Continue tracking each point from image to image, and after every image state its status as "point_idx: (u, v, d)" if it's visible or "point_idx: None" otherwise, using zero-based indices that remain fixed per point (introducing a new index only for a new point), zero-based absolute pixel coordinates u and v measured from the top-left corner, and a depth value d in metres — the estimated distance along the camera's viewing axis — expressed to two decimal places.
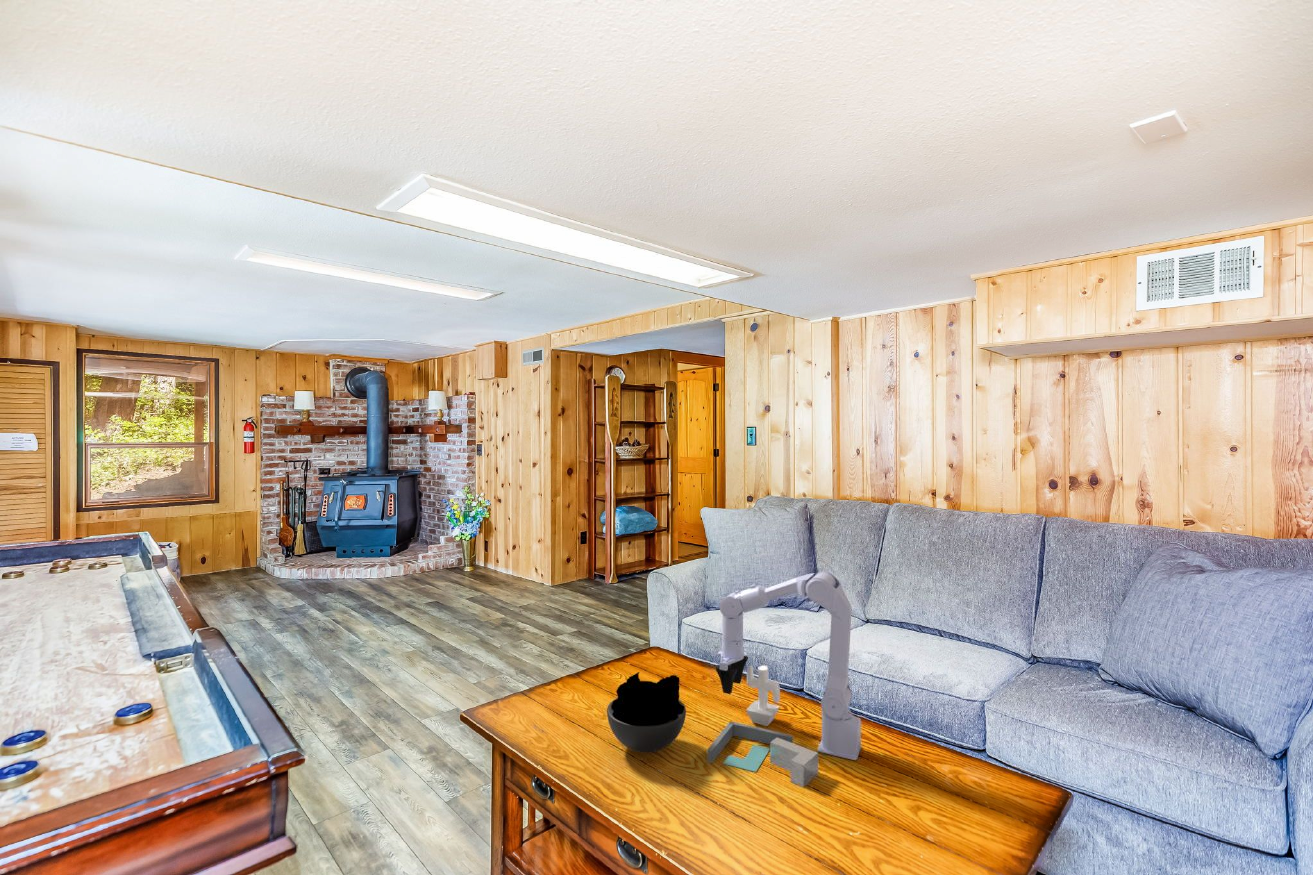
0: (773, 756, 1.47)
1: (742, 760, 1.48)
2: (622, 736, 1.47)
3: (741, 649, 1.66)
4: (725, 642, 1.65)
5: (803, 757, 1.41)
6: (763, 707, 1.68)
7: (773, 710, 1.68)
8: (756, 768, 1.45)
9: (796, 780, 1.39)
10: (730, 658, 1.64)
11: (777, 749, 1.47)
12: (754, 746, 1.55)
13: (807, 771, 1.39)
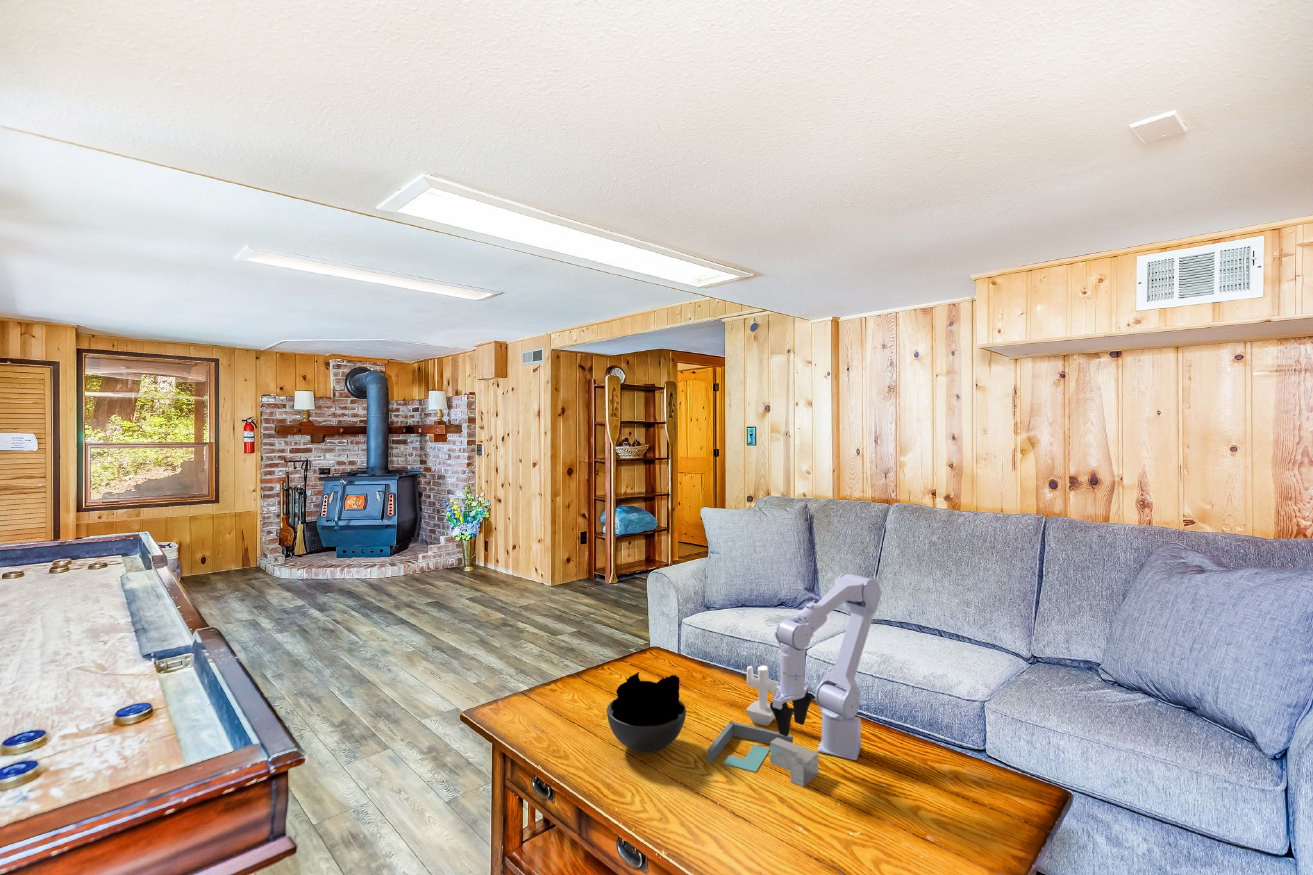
0: (773, 756, 1.47)
1: (742, 760, 1.48)
2: (622, 736, 1.47)
3: (801, 686, 1.44)
4: (782, 676, 1.45)
5: (803, 757, 1.41)
6: (763, 707, 1.68)
7: None
8: (756, 768, 1.45)
9: (796, 780, 1.39)
10: (787, 695, 1.43)
11: (777, 749, 1.47)
12: (754, 746, 1.55)
13: (807, 771, 1.39)
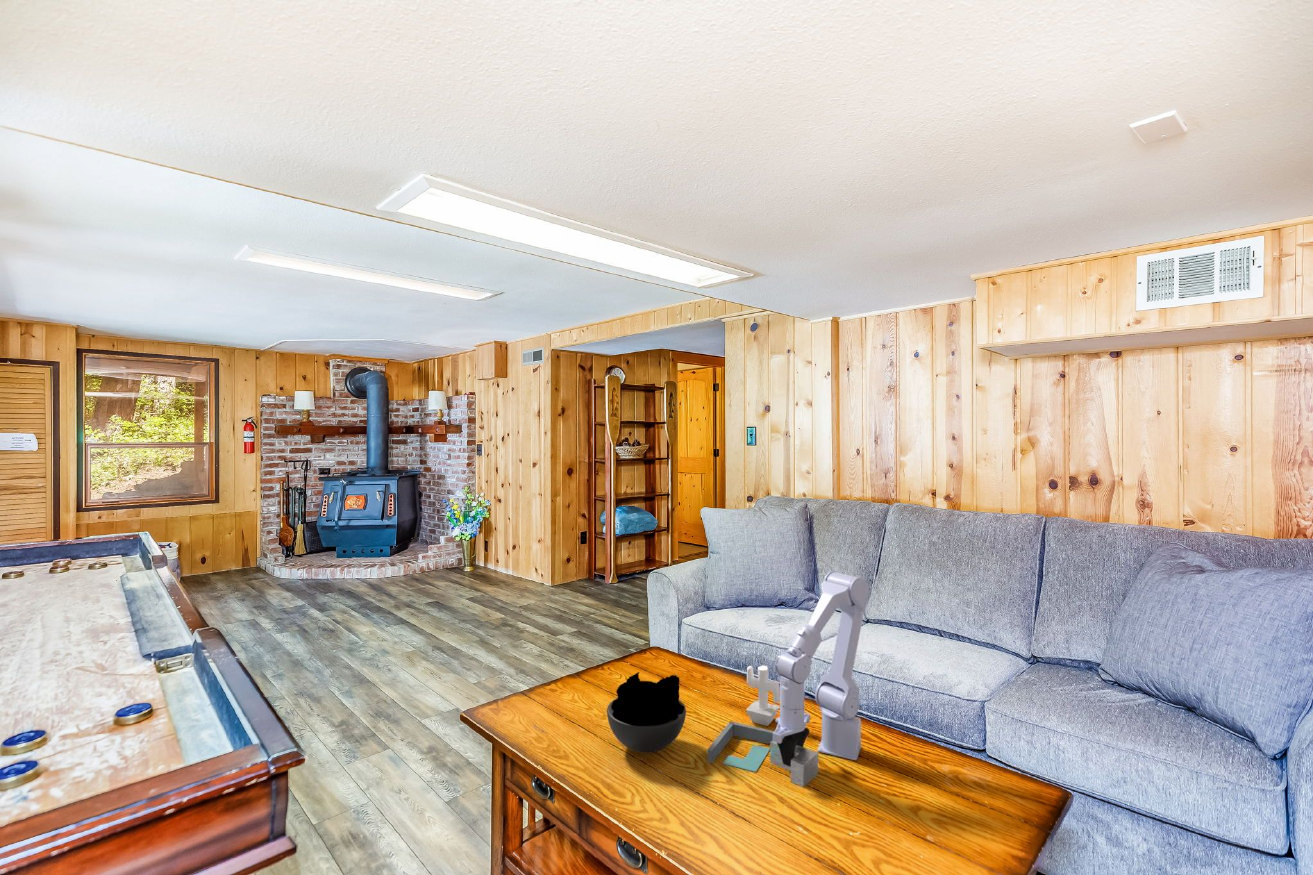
0: (773, 756, 1.47)
1: (742, 760, 1.48)
2: (622, 736, 1.47)
3: (801, 719, 1.44)
4: (782, 709, 1.45)
5: (803, 757, 1.41)
6: (763, 707, 1.68)
7: (773, 710, 1.68)
8: (756, 768, 1.45)
9: (796, 780, 1.39)
10: (787, 728, 1.43)
11: (777, 750, 1.47)
12: (754, 746, 1.55)
13: (807, 771, 1.39)
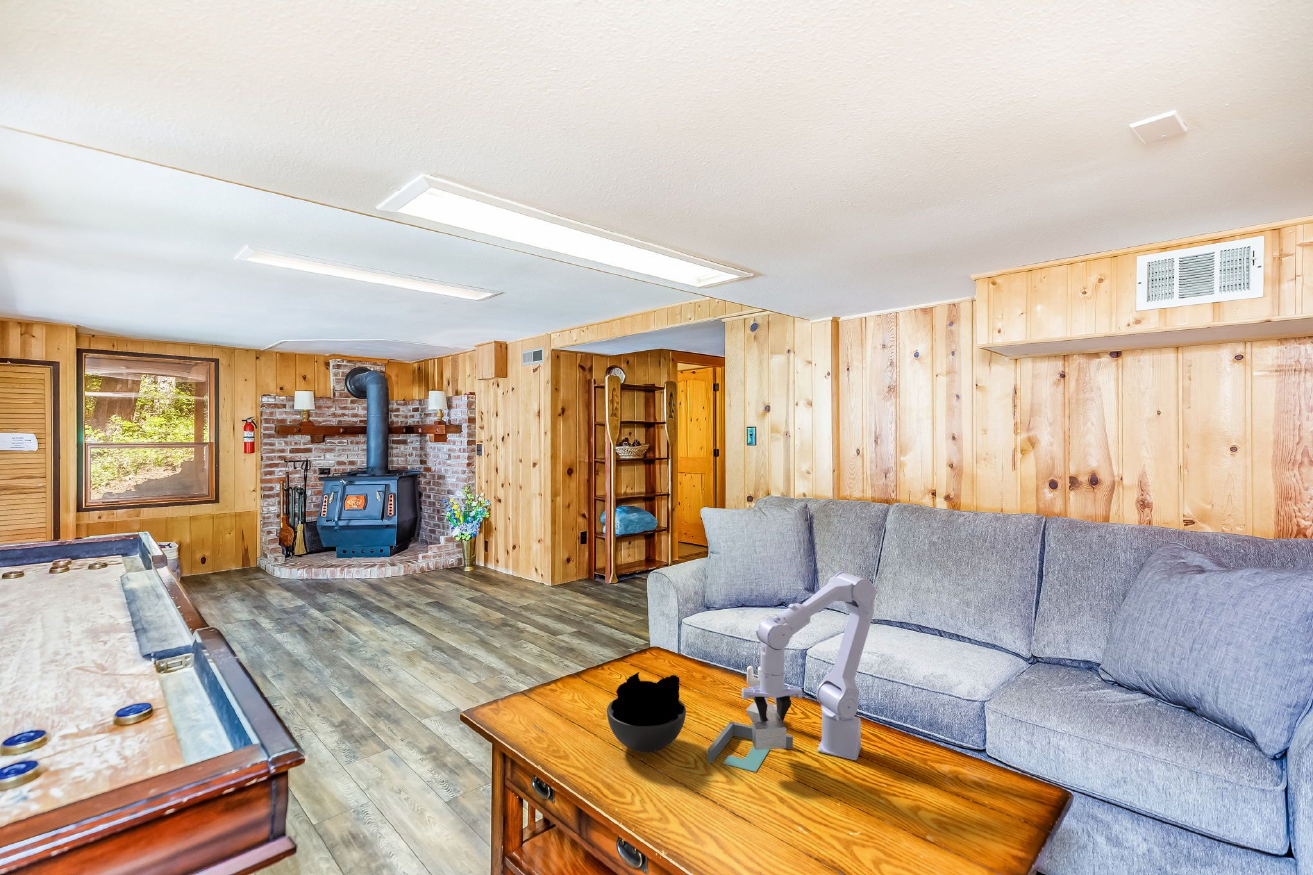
0: None
1: (742, 760, 1.48)
2: (622, 736, 1.47)
3: (773, 686, 1.45)
4: None
5: (767, 724, 1.43)
6: None
7: None
8: (756, 768, 1.45)
9: (753, 741, 1.43)
10: (760, 690, 1.47)
11: None
12: None
13: (764, 738, 1.42)
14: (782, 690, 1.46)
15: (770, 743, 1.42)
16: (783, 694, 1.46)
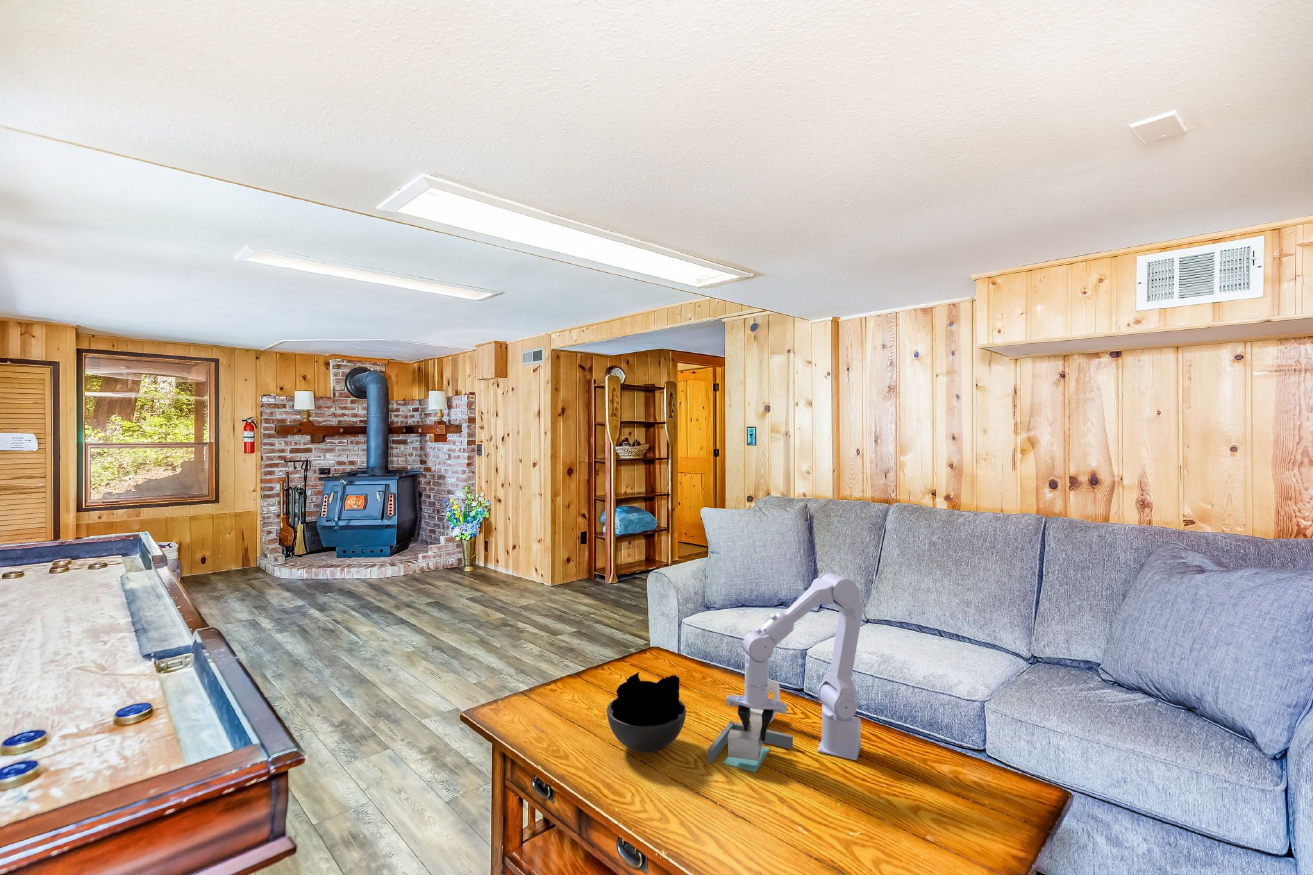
0: None
1: (742, 760, 1.48)
2: (622, 736, 1.47)
3: (752, 697, 1.48)
4: None
5: (742, 734, 1.46)
6: None
7: None
8: (756, 768, 1.45)
9: None
10: (743, 700, 1.51)
11: None
12: None
13: (736, 746, 1.45)
14: (763, 703, 1.48)
15: (742, 753, 1.45)
16: (763, 707, 1.47)
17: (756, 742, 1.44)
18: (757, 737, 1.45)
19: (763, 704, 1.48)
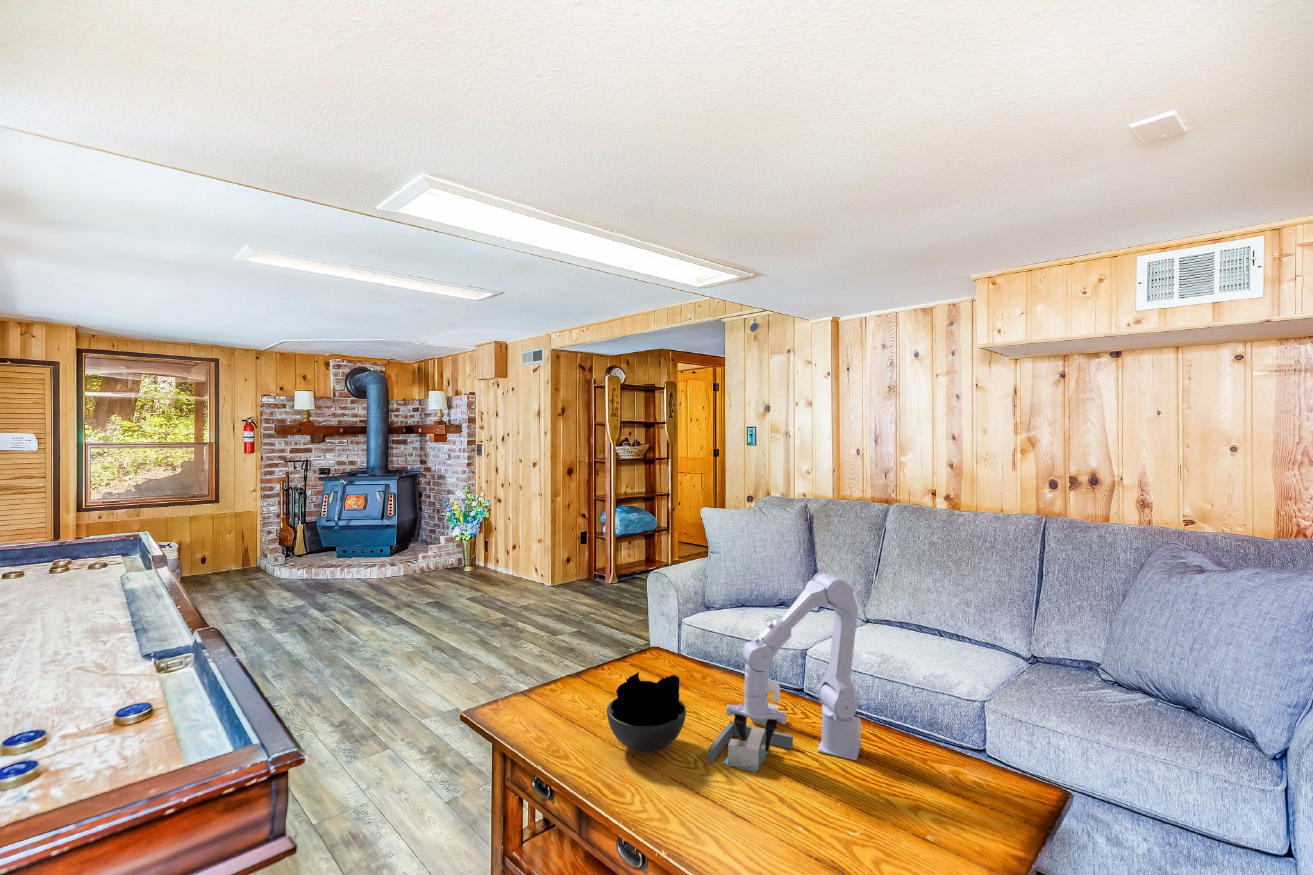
0: None
1: None
2: (622, 736, 1.47)
3: (752, 706, 1.48)
4: None
5: (742, 743, 1.47)
6: None
7: None
8: None
9: None
10: (743, 709, 1.51)
11: None
12: None
13: (736, 755, 1.45)
14: (763, 712, 1.48)
15: (742, 762, 1.45)
16: (763, 717, 1.47)
17: (757, 751, 1.44)
18: (758, 746, 1.45)
19: (763, 714, 1.48)
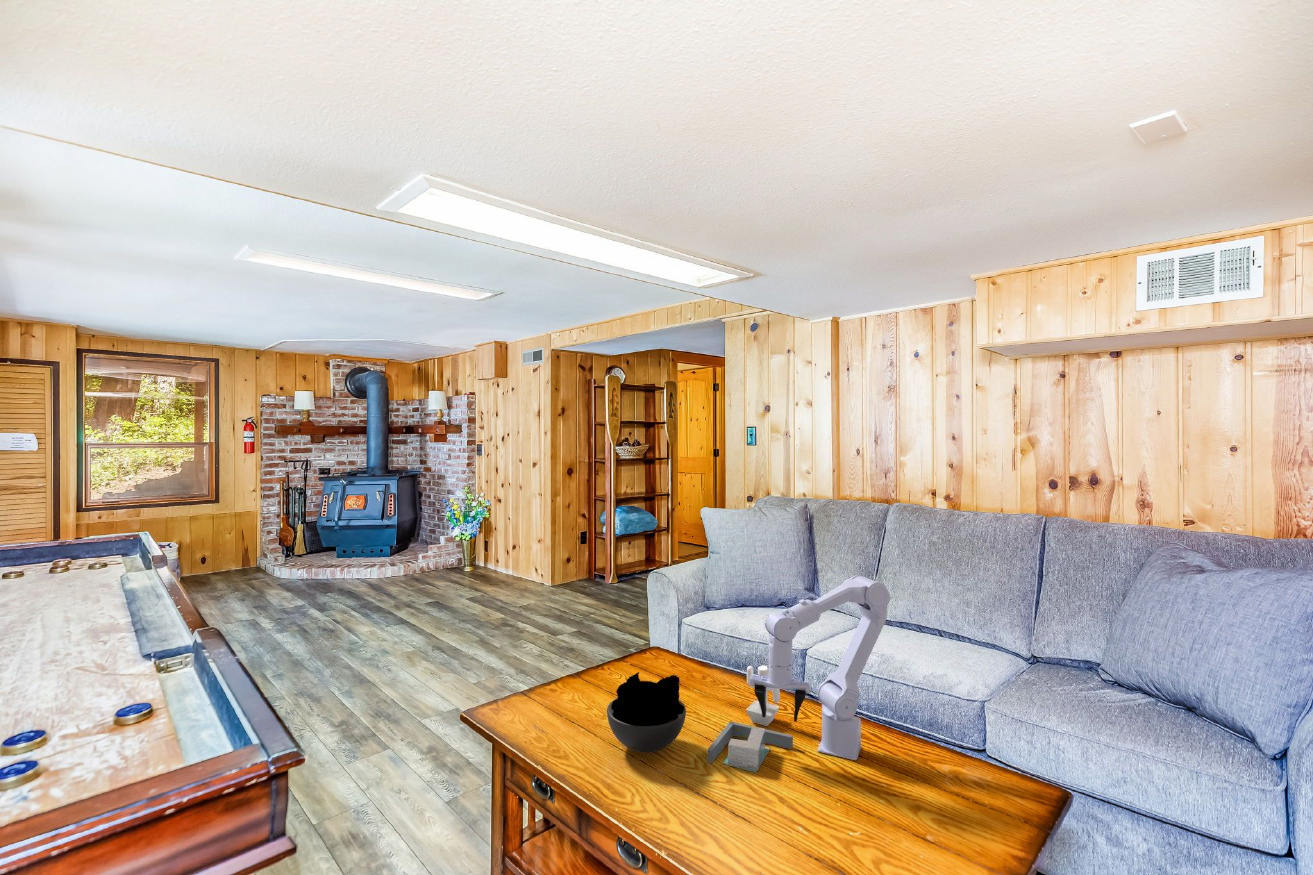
0: None
1: None
2: (622, 736, 1.47)
3: (777, 676, 1.49)
4: None
5: (742, 743, 1.47)
6: None
7: (773, 710, 1.68)
8: None
9: None
10: (767, 680, 1.52)
11: None
12: None
13: (736, 755, 1.45)
14: (787, 682, 1.49)
15: (742, 762, 1.45)
16: (787, 686, 1.48)
17: (757, 751, 1.44)
18: (758, 746, 1.45)
19: (788, 684, 1.49)
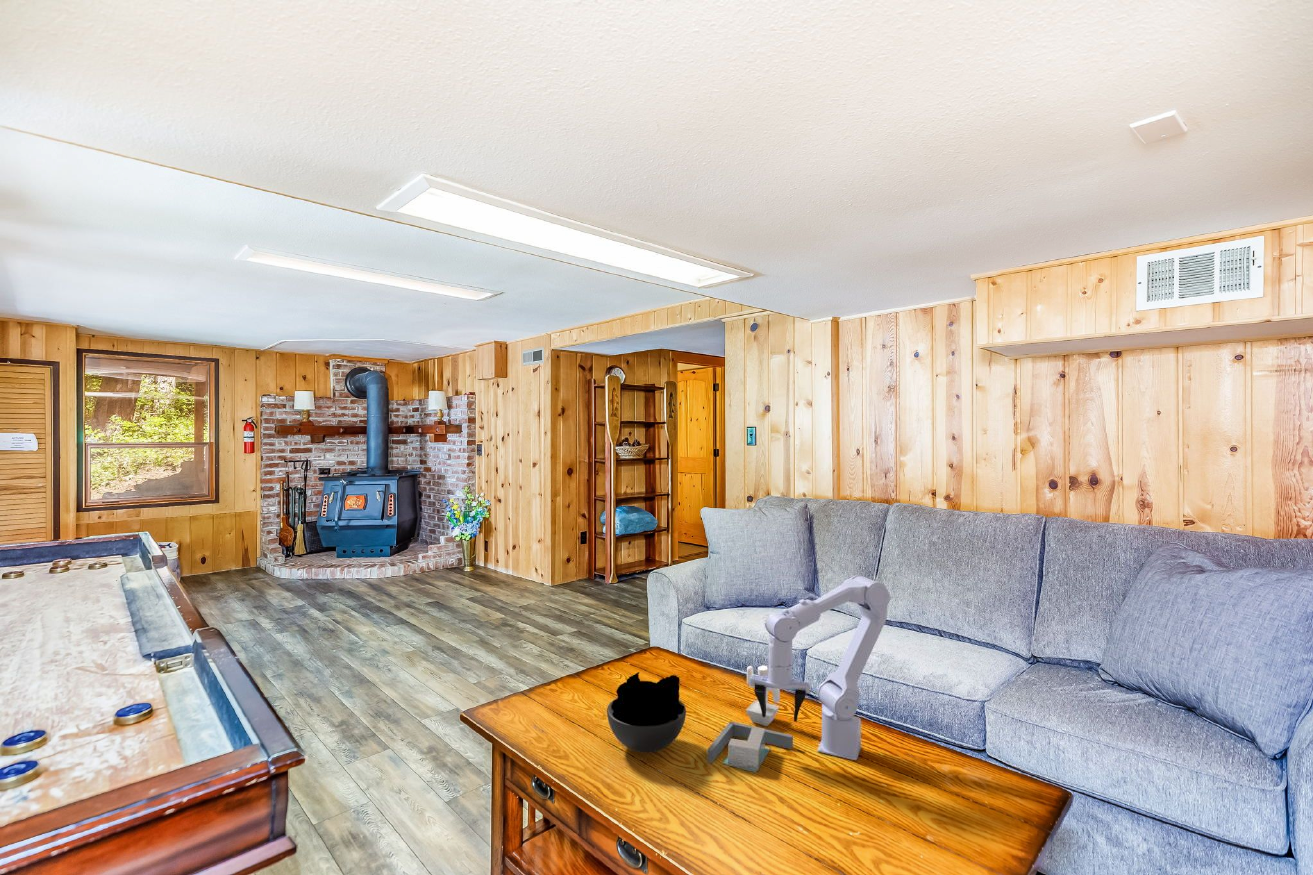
0: None
1: None
2: (622, 736, 1.47)
3: (777, 676, 1.49)
4: None
5: (742, 743, 1.47)
6: None
7: (773, 710, 1.68)
8: None
9: None
10: (767, 680, 1.52)
11: None
12: None
13: (736, 755, 1.45)
14: (787, 682, 1.49)
15: (742, 762, 1.45)
16: (787, 686, 1.48)
17: (757, 751, 1.44)
18: (758, 746, 1.45)
19: (788, 684, 1.49)
